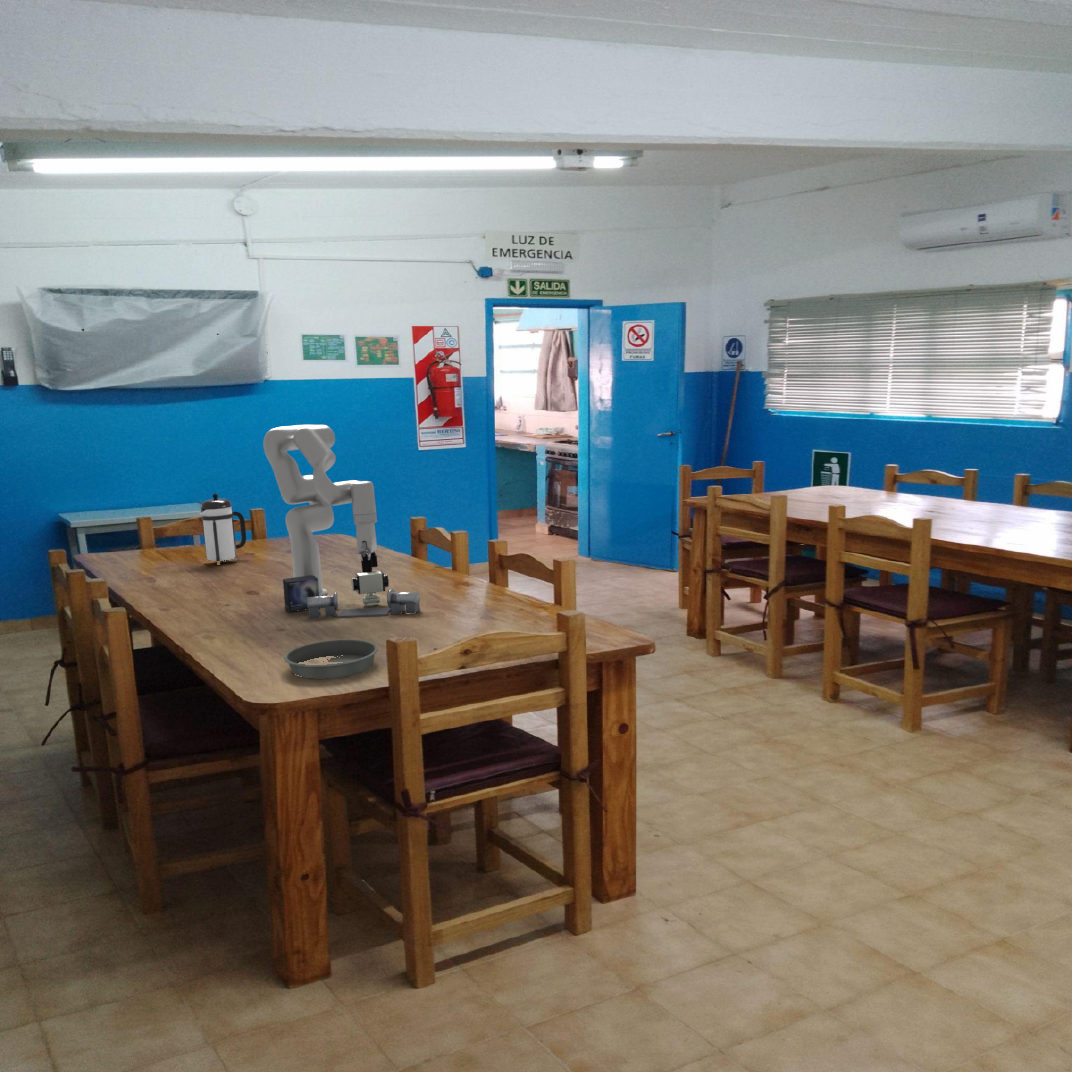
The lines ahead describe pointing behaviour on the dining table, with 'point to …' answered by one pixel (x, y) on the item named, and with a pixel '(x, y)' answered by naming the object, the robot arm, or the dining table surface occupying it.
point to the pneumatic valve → (370, 586)
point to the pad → (364, 612)
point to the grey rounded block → (403, 601)
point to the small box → (299, 591)
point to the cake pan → (354, 658)
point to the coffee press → (220, 529)
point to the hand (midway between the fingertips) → (370, 569)
